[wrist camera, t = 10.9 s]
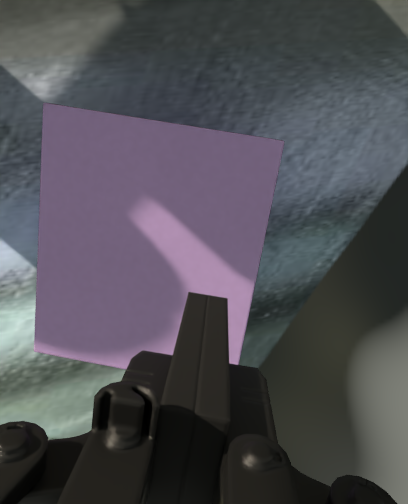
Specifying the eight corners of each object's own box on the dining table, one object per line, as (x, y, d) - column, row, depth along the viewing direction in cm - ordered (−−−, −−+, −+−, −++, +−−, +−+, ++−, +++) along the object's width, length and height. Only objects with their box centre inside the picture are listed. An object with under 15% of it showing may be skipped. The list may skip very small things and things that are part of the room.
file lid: (283, 141, 20) (285, 140, 19) (233, 383, 24) (233, 390, 24) (50, 104, 21) (42, 102, 20) (39, 345, 25) (33, 351, 24)
